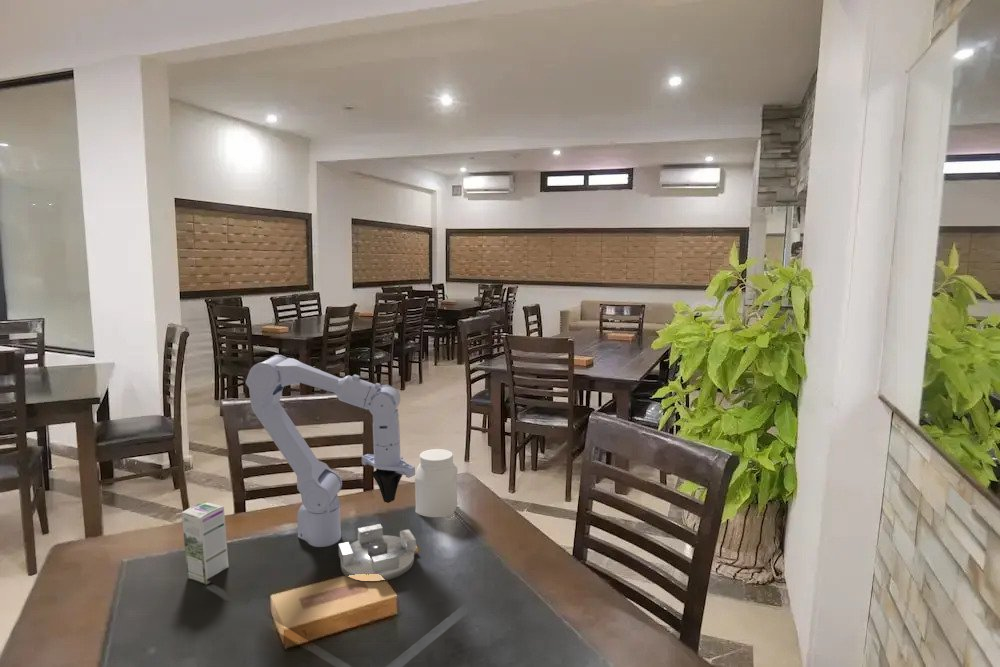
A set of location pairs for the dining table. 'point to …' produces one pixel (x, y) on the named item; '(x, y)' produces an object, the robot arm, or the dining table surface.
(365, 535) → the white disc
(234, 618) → the dining table surface
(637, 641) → the dining table surface
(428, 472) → the jar
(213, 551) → the syrup box
